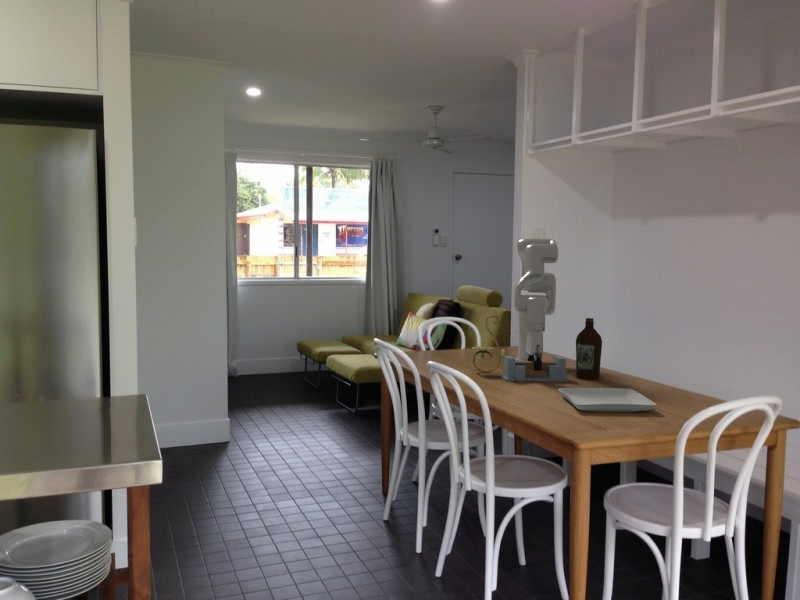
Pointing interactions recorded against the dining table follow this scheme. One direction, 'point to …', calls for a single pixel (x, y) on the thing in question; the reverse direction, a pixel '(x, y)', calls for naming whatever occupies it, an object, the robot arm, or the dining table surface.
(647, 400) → the square plate
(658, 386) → the dining table surface
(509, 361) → the grey bracket base
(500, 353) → the wall sconce
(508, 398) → the dining table surface
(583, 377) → the olive oil
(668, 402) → the dining table surface
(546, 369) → the rail
